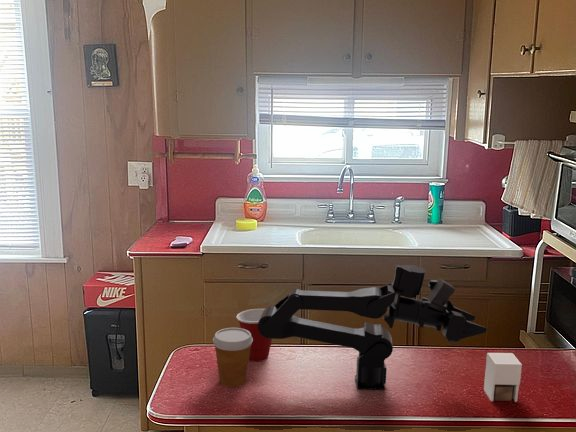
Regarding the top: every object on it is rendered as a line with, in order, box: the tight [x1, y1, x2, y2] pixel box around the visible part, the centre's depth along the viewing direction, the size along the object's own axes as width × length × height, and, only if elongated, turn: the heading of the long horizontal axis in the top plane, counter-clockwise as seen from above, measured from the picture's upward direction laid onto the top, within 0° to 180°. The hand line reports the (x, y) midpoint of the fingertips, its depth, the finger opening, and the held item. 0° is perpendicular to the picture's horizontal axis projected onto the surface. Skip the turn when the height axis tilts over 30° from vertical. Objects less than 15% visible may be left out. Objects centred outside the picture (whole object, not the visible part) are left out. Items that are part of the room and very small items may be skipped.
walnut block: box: [493, 384, 513, 402], centre depth 145 cm, size 4×4×4 cm
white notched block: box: [483, 352, 523, 403], centre depth 144 cm, size 6×6×10 cm
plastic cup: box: [235, 308, 273, 362], centre depth 163 cm, size 11×11×12 cm
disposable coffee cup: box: [212, 327, 253, 388], centre depth 149 cm, size 10×10×12 cm
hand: (480, 323), depth 146 cm, fingers open, 9 cm apart
